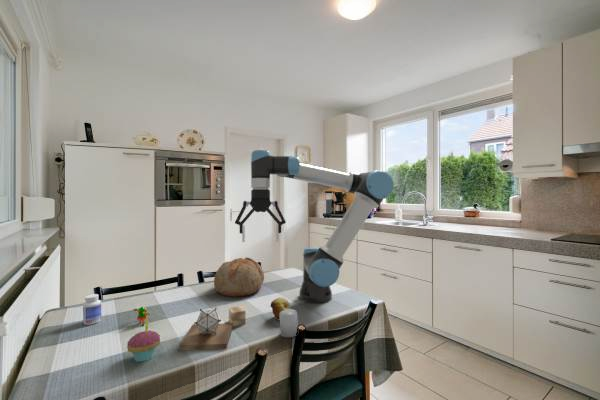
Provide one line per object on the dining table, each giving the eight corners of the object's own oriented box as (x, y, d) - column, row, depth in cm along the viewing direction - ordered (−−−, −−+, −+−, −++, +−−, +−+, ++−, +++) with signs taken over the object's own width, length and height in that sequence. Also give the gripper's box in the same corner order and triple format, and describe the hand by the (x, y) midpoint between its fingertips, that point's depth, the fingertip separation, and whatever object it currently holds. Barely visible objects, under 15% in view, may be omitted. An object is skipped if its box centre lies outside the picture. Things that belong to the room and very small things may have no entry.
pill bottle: (104, 320, 107) (104, 294, 107) (90, 326, 102) (89, 299, 102) (94, 317, 109) (94, 292, 109) (79, 323, 104) (79, 297, 104)
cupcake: (136, 349, 87) (136, 310, 87) (165, 348, 88) (165, 310, 88) (121, 366, 79) (121, 323, 79) (153, 365, 79) (153, 322, 79)
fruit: (275, 325, 105) (275, 303, 104) (266, 316, 112) (267, 296, 112) (293, 321, 108) (293, 300, 108) (284, 312, 115) (284, 293, 115)
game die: (210, 347, 93) (209, 331, 87) (189, 334, 95) (186, 318, 89) (227, 324, 100) (227, 308, 94) (207, 313, 102) (206, 296, 96)
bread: (229, 279, 160) (229, 252, 159) (270, 282, 155) (270, 254, 155) (205, 296, 134) (206, 264, 133) (253, 300, 129) (254, 267, 129)
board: (232, 327, 102) (232, 323, 102) (226, 348, 89) (226, 343, 89) (192, 328, 101) (192, 324, 101) (179, 350, 87) (179, 345, 87)
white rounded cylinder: (289, 327, 103) (287, 307, 102) (301, 331, 99) (300, 311, 98) (277, 334, 98) (275, 314, 98) (290, 339, 94) (288, 318, 94)
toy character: (139, 335, 97) (139, 315, 97) (119, 326, 103) (119, 308, 103) (167, 322, 107) (168, 304, 106) (148, 315, 112) (148, 298, 112)
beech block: (242, 318, 110) (242, 305, 110) (245, 324, 105) (245, 310, 105) (229, 321, 108) (229, 307, 108) (231, 326, 103) (231, 313, 103)
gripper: (290, 189, 121) (290, 239, 121) (230, 189, 118) (230, 240, 119) (292, 189, 113) (291, 242, 114) (227, 188, 111) (227, 243, 111)
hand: (260, 241), depth 116 cm, fingers open, 13 cm apart
